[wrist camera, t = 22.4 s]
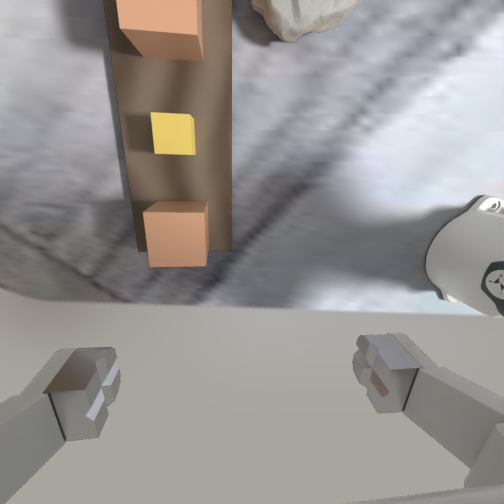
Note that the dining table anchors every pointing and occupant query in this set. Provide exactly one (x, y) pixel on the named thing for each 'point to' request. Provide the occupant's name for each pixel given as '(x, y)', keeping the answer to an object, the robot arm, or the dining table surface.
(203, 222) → the wooden block
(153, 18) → the peach block
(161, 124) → the cube
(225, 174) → the board
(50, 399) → the robot arm
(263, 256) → the dining table surface
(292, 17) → the stone
